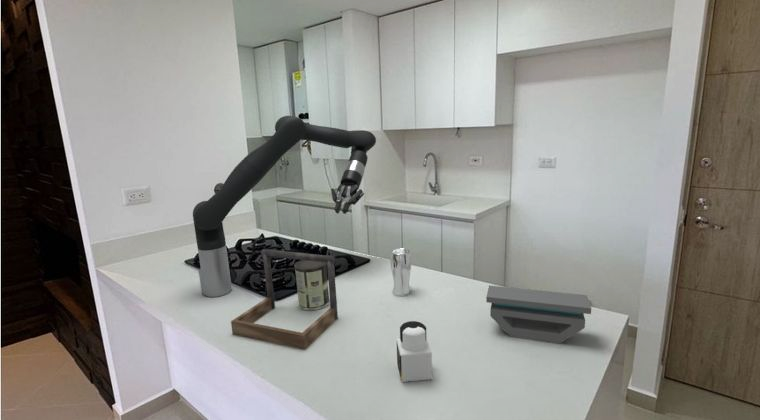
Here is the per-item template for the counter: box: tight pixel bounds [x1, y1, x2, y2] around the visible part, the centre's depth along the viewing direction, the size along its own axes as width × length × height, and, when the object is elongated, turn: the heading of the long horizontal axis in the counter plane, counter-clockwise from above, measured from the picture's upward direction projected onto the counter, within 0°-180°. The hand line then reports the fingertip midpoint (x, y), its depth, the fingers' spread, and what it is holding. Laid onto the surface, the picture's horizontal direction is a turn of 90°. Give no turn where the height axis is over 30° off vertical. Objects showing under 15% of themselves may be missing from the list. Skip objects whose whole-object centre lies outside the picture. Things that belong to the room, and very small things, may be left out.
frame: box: [230, 248, 339, 350], centre depth 114 cm, size 18×25×20 cm
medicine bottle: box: [396, 320, 433, 383], centre depth 91 cm, size 7×7×12 cm
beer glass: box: [390, 247, 412, 297], centre depth 134 cm, size 7×7×15 cm
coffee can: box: [294, 260, 330, 311], centre depth 128 cm, size 10×10×14 cm
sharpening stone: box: [485, 285, 592, 345], centre depth 105 cm, size 25×8×11 cm, turn 70°
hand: (340, 212), depth 144 cm, fingers open, 2 cm apart
